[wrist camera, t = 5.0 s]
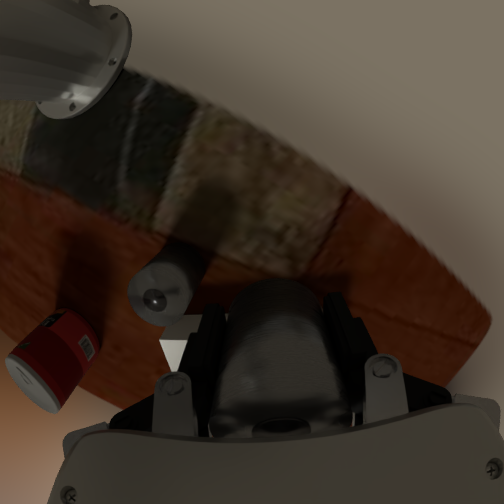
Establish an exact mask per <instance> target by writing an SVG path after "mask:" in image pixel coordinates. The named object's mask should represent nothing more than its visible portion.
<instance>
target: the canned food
mask: <svg viewBox="0 0 504 504" xmlns="http://www.w3.org/2000/svg"><path fill="white" fill-rule="evenodd" d="M99 348H100V347H99V341H98V338H97V336H96V334H95V332H94V330H93V329H92V327H91V326H90V324H89V323H88V322H87V321H86V320H85V319H84V318H83V317H82V316H81V315H79V314H78V313H76V312H75V311H73V310H71V309H68V308H61V309H58V310H56V311H54V312H53V313H52V314H51V315H50V316H48V317H47V318H46V319H45V320H44V321H43V322H42V323H41V324H40V325H38V326H37V327H36V328H35V329H34V330H33V331H32V332H31V333H30V334H29V335H28V336H27V337H26V338H25V339H24V340H23V341H21V342H20V343H19V344H18V345H17V346H16V347H15V348H14V349H13V351H12V352H11V353H10V354H9V355H8V357H7V358H6V359H5V363H6V366H7V369H8V371H9V373H10V375H11V377H12V378H13V380H14V381H15V383H16V384H17V385H18V387H19V388H20V389H21V390H22V391H23V392H24V393H25V395H27V397H29V398H30V399H31V400H32V401H33V402H34V403H35V404H37V405H38V406H39V407H41V408H42V409H44V410H46V411H48V412H50V413H53V414H56V413H58V411H59V410H60V409H61V408H62V406H63V405H64V404H65V402H66V401H67V399H68V398H69V396H70V395H71V393H72V392H73V390H74V389H75V387H76V386H77V385H78V383H79V382H80V380H81V379H82V377H83V376H84V375H85V373H86V372H87V370H88V369H89V368H90V366H91V365H92V363H93V362H94V361H95V359H96V358H97V356H98V353H99Z"/></svg>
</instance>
